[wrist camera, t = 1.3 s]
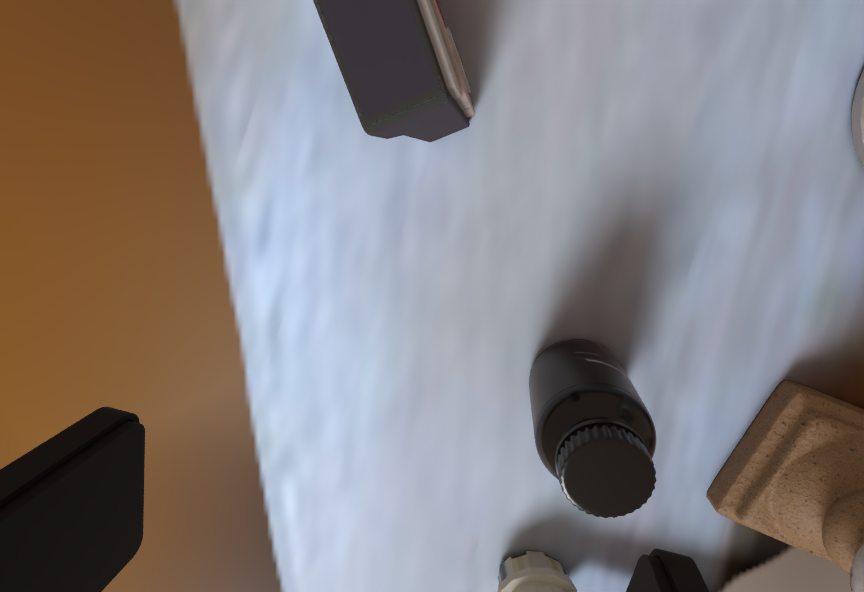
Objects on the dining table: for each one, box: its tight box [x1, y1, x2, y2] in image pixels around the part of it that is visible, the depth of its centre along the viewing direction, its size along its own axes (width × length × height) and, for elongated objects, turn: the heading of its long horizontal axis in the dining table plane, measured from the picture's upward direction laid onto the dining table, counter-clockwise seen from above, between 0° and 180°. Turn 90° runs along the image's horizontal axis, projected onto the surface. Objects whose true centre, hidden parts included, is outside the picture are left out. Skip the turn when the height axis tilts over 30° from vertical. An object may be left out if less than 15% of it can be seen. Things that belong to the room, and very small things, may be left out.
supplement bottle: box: [529, 339, 656, 518], centre depth 31 cm, size 7×7×12 cm
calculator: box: [313, 0, 475, 142], centre depth 24 cm, size 11×4×15 cm, turn 21°
